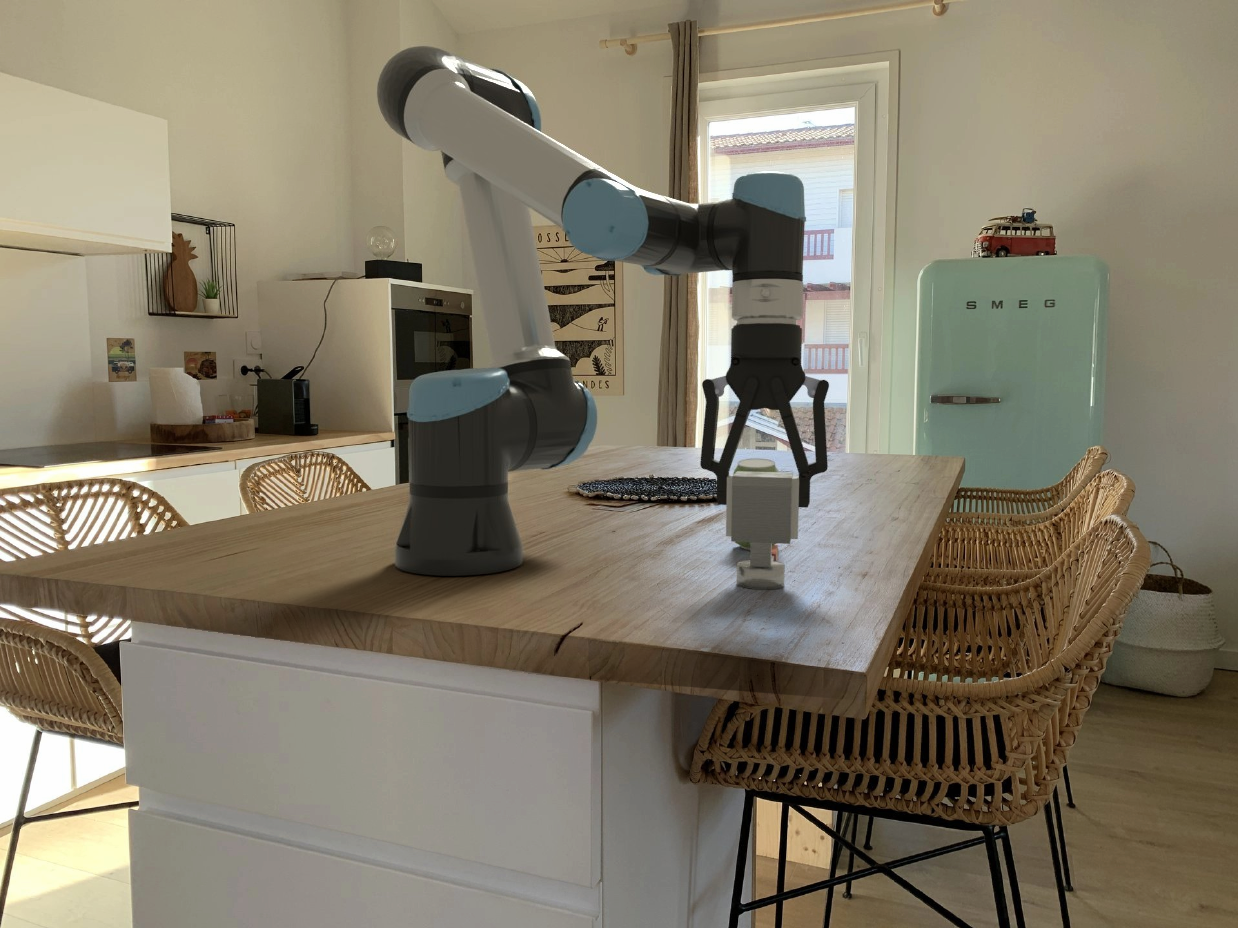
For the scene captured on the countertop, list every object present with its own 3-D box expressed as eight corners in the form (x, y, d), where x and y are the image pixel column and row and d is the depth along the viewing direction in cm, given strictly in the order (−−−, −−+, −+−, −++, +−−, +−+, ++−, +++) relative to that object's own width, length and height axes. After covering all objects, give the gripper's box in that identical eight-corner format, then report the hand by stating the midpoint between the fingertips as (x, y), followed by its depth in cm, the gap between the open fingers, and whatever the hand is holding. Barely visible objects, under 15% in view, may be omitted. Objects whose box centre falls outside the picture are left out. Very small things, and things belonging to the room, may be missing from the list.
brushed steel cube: (731, 541, 99) (732, 476, 99) (736, 532, 105) (737, 471, 105) (790, 543, 98) (791, 477, 97) (791, 534, 104) (793, 472, 103)
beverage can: (777, 544, 127) (779, 457, 126) (780, 554, 120) (783, 462, 119) (731, 543, 128) (732, 456, 127) (732, 553, 121) (734, 461, 120)
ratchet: (734, 587, 100) (735, 535, 100) (746, 558, 117) (747, 513, 116) (783, 590, 99) (784, 538, 99) (788, 560, 116) (789, 515, 115)
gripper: (672, 321, 98) (670, 537, 100) (860, 320, 94) (853, 545, 96) (683, 325, 105) (680, 527, 107) (857, 324, 101) (851, 533, 103)
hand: (762, 535), depth 102 cm, fingers closed on brushed steel cube, 6 cm apart
